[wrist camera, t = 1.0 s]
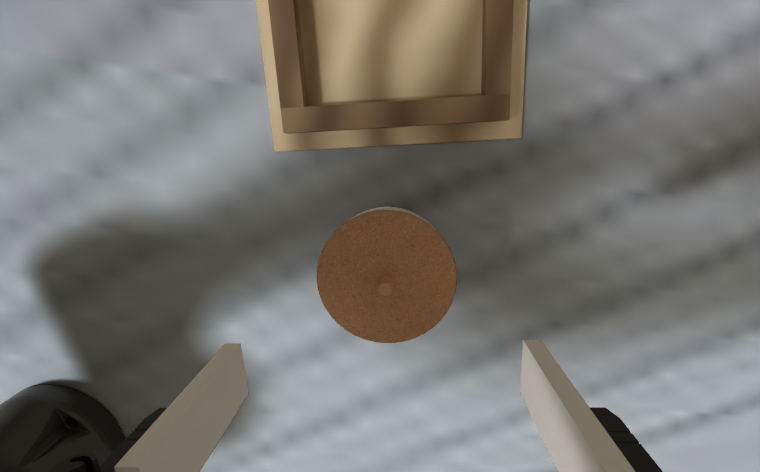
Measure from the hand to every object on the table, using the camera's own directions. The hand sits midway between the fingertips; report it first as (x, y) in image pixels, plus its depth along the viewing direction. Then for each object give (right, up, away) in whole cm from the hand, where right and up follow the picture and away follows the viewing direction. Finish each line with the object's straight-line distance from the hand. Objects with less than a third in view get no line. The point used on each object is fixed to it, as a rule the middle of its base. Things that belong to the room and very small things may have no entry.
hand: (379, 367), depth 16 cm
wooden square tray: (+1, +25, +13) cm, 28 cm away
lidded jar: (+1, +5, +18) cm, 19 cm away
